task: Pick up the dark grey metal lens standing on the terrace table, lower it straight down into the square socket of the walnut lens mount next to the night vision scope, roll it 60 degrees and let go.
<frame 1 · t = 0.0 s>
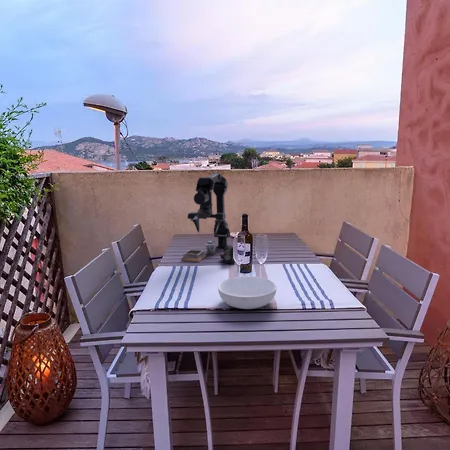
hand: (207, 232, 175), 15 cm above the table, tool pointing down, fingers open, 9 cm apart
mount: (194, 258, 181), on the table
night vision scope: (228, 261, 176), on the table
serving bowl: (247, 304, 124), on the table
lens: (210, 254, 189), on the table
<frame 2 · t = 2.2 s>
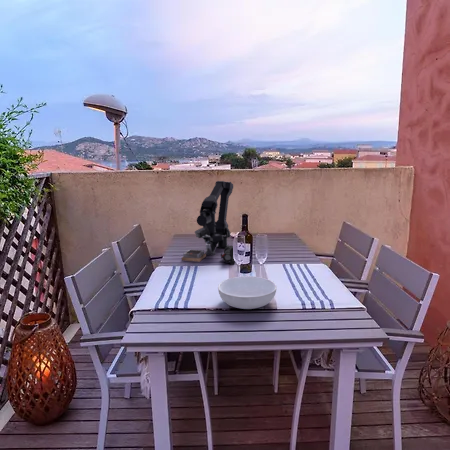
hand: (210, 250, 189), 2 cm above the table, tool pointing down, fingers closed on lens, 5 cm apart
lens: (210, 254, 189), on the table, touching gripper
everything else where it was.
when the fingers open (5 cm above the table, at t = 5.8 s): lens drops 1 cm, resting on mount.
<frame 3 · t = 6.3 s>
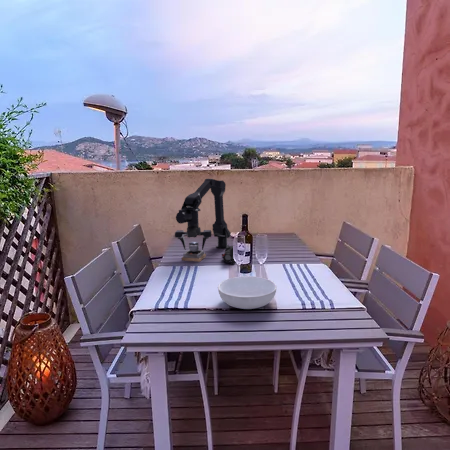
hand: (193, 249, 180), 5 cm above the table, tool pointing down, fingers open, 9 cm apart
lens: (194, 255, 181), point 1 cm above the table, touching mount
everything else where it was.
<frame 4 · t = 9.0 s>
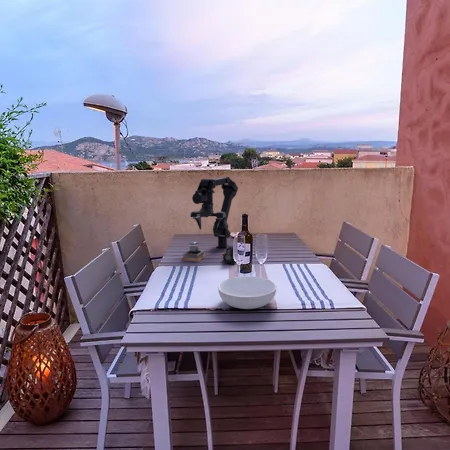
hand: (208, 229, 190), 13 cm above the table, tool pointing down, fingers open, 9 cm apart
at the end: lens 0.0 cm off-centre on the mount, point 1.5 cm above the mount's base; lens tilted 0°; the gripper is holding nothing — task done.
